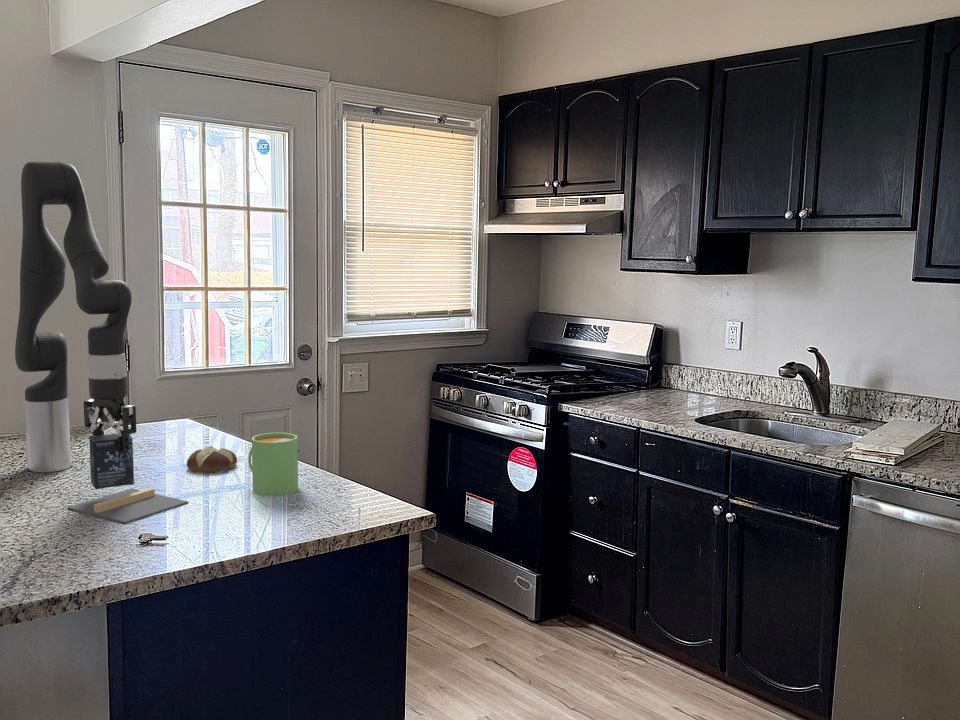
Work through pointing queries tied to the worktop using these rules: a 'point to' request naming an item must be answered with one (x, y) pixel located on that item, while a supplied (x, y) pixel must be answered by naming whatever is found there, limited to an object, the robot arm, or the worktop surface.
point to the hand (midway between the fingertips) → (111, 450)
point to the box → (110, 462)
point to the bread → (211, 460)
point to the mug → (274, 463)
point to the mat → (128, 505)
